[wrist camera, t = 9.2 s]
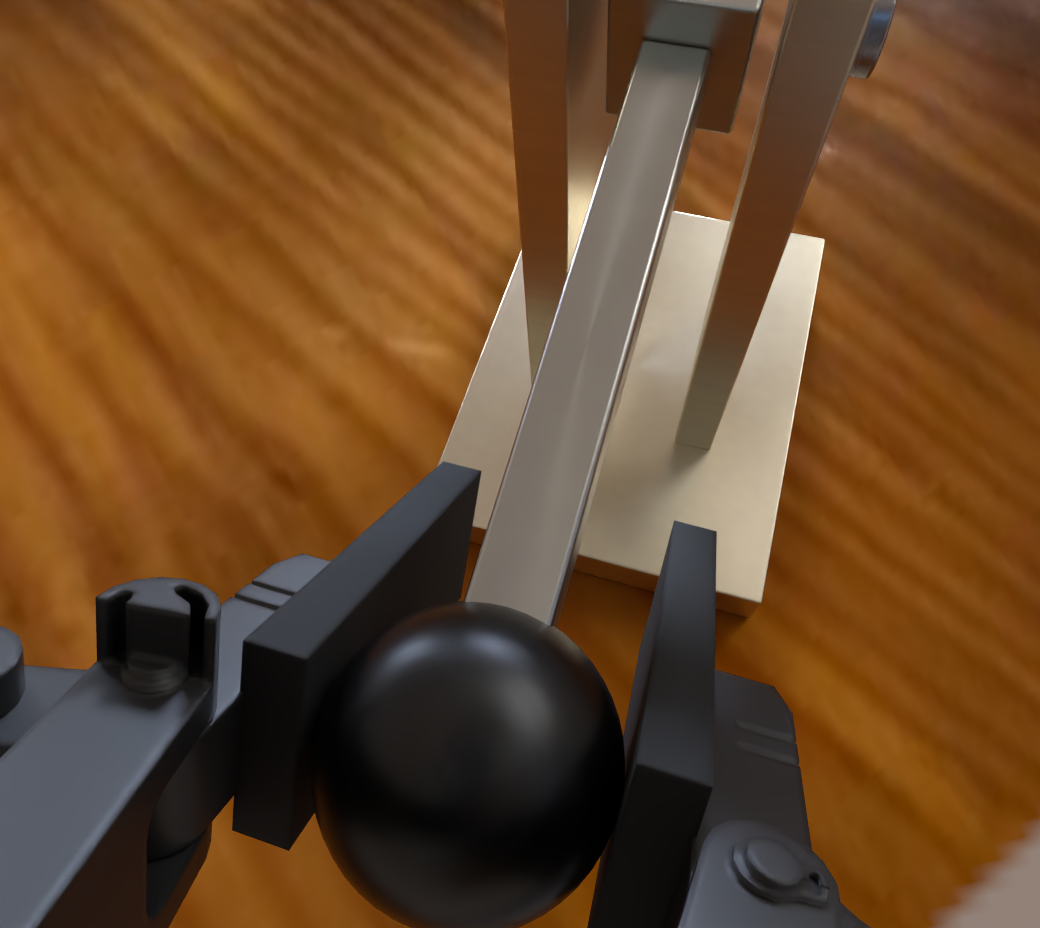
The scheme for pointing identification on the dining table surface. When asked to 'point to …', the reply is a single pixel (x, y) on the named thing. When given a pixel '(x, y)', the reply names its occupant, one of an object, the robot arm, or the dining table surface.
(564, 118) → the lever bracket
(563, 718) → the lever
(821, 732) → the dining table surface
